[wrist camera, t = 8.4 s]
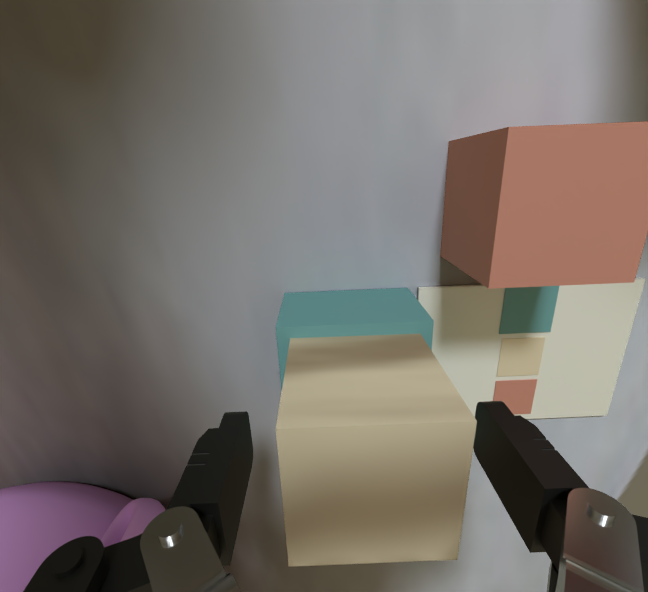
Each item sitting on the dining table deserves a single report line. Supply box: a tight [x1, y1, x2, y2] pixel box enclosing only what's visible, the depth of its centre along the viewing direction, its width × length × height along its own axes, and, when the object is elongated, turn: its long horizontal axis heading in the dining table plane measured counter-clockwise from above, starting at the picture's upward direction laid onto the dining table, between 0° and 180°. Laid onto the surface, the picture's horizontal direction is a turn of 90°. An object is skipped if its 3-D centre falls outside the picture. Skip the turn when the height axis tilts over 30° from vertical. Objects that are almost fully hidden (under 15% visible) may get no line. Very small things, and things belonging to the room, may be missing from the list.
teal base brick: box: [276, 288, 434, 390], centre depth 16 cm, size 6×6×4 cm
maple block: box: [276, 334, 477, 567], centre depth 12 cm, size 5×5×5 cm
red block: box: [440, 121, 648, 289], centre depth 13 cm, size 5×5×5 cm
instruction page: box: [417, 278, 645, 419], centre depth 18 cm, size 8×11×1 cm
